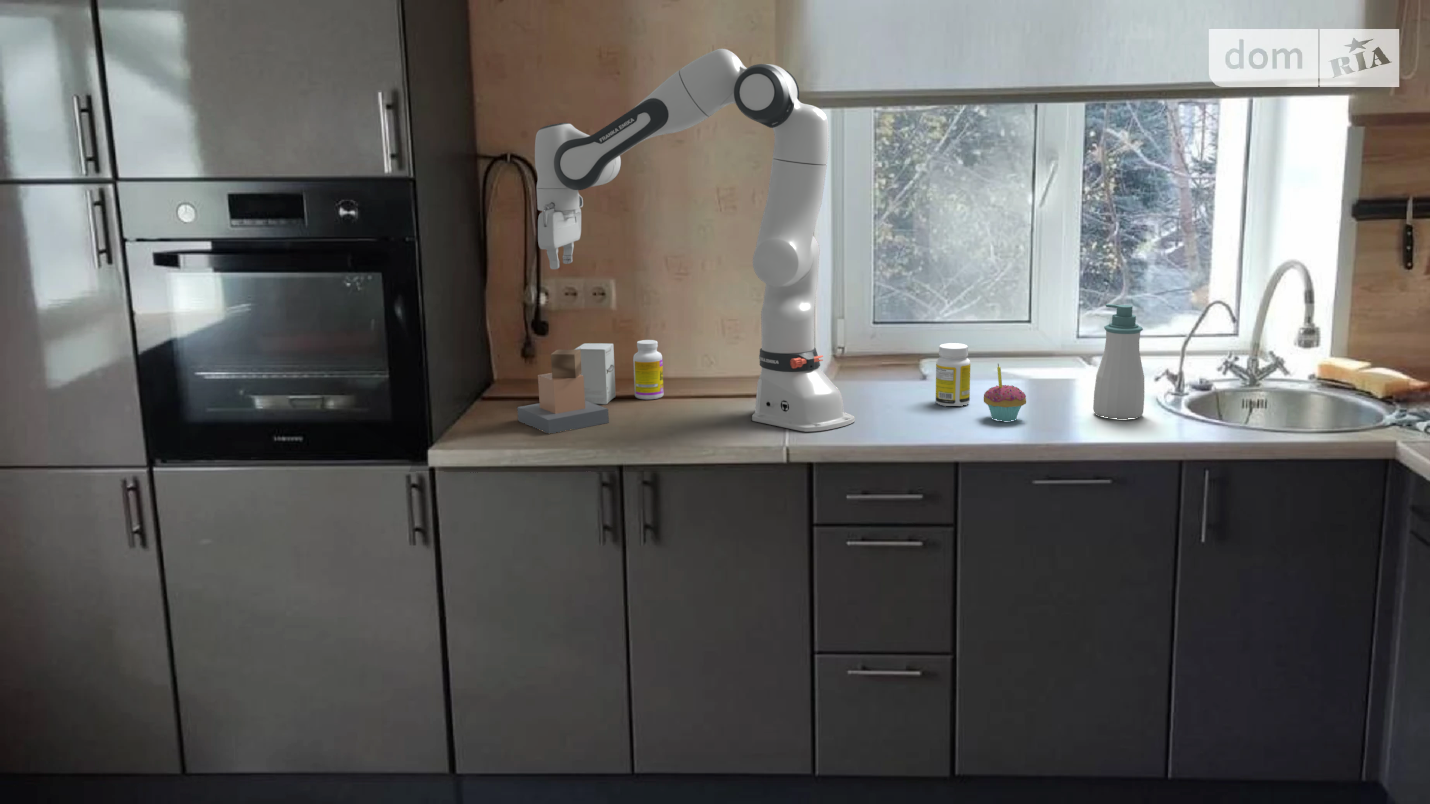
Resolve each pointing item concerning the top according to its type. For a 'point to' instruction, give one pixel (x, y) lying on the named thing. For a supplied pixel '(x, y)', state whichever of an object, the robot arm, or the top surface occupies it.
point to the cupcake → (1004, 400)
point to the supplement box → (598, 372)
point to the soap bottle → (1120, 369)
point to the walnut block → (566, 363)
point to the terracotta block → (561, 393)
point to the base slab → (562, 417)
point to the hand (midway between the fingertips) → (561, 266)
